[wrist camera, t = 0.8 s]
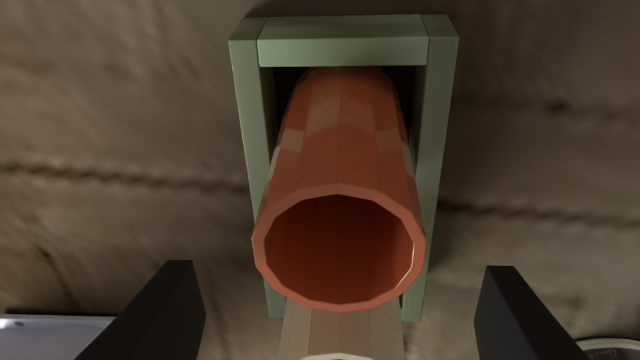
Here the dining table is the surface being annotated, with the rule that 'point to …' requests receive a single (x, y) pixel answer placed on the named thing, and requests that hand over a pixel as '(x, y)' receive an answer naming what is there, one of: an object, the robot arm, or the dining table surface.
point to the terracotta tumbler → (341, 194)
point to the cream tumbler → (342, 333)
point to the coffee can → (611, 348)
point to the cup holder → (348, 50)
